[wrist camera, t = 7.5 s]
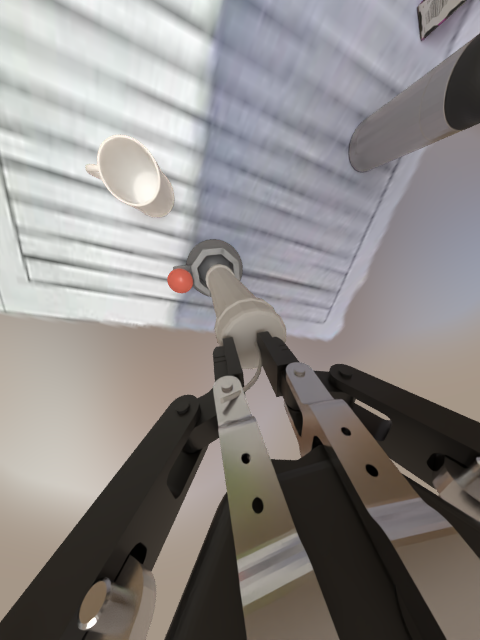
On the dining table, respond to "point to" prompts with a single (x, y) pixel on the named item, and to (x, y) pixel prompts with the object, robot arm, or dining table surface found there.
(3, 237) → the dining table surface
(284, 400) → the robot arm
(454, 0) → the candy bar box
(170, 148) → the dining table surface
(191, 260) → the valve socket
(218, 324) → the pipe
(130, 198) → the mug
